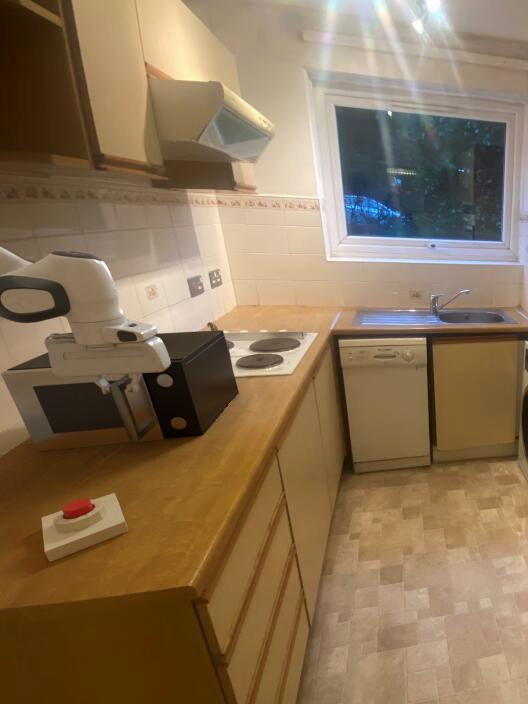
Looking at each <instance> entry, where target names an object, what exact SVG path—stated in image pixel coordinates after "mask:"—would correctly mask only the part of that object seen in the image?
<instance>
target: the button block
mask: <svg viewBox="0 0 528 704" xmlns="http://www.w3.org/2000/svg"><path fill="white" fill-rule="evenodd" d="M89 500H90V501H91V503H92V506H93V510H92V511H91V512H89V513H87V514H86V515H83V516H81V517H78V518H74V519H66V518H65V516H64V513H63V511H62V509H61V510H59V511H56V512H54V513H51V514H48V515H45V516H42V517H41V518H40V519H41V528H42V538H43V549H44V554H45V556H46V558H47V559H48V561H49V563H51V562H54V561H56V560H59V559H61V558H63V557H67V556H69V555H71V554H74V553H76V552H79V551H82V550H84V549H87V548H89V547H92V546H95V545H97V544H99V543H102V542H104V541H107V540H109V539H113V538H115V537H117V536H120V535H122V534H125V533H127V532H129V528H128V524H127V522H126V518H125V516H124V513H123V510H122V508H121V505H120V502H119V500H118V497H117V495H116V493H115V492H112V493H109V494H107V495H104V496H101V497H98V498H95V499H89Z"/></svg>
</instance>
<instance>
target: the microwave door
mask: <svg viewBox="0 0 528 704" xmlns="http://www.w3.org/2000/svg"><path fill="white" fill-rule="evenodd" d="M0 375H1V377H2V379H3V381H4V384H5V385H6V388H7V390H8V392H9V394H10V396H11V398H12V401H13V402H14V405H15V407H16V409H17V411H18V413H19V415H20V418H21V420H22V421H23V424H24V426H25V428H26V431H27V433H28V434H29V436H30V439H31V440H32V443H33V445H34V447H35V449H36V451H37V452H38V453H39V452H49V451H51V452H52V451H60V450H61V451H62V450H69V449H70V450H73V449H80V448H91V447H100V446H101V447H102V446H111V445H120V444H130V443H131V444H133V443H141V442H151V441H161V440H165V439H166V436H165V433H164V430H163V427H162V424H161V421H160V418H159V415H158V412H157V409H156V406H155V403H154V400H153V397H152V394H151V391H150V388H149V386H148V383H147V380H146V377H145V374H144V373H142V375H141V378H140V380H139V382H138V384H139V387H140V390H139V391H138V392H128V389H127V387H126V385H128V384H129V383H131V382H132V379H133V378H129V375H128V374H116V375H105V377H103V378H104V379H105V380H106V381H107V382H108V383H109V384H111V385H110V386H109V387H110V389H111V392H112V393H111V394H103V392H102V389H101V387H99V386H98V385H97V384H96V383H94V382H93V381H92V380H91V377H90V376H79V377H58V376H57V375H55V374H54V373H53V371H52V368H41V369H25V370H9V371H7V370H5V371H2V372H0Z"/></svg>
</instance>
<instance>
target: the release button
mask: <svg viewBox="0 0 528 704" xmlns="http://www.w3.org/2000/svg"><path fill="white" fill-rule="evenodd" d="M90 500H91V499H90V498H79V499H75V500H72V501H70V502H68V503H66V504H65V505H64V506H62V508H61V510H62V511H63V513H64V516H65V518H66V519H74V518H78V517H81V516H83V515H86V514H87V513H89V512H91V511H92V510H93V506H92V503H91V501H90Z"/></svg>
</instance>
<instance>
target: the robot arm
mask: <svg viewBox="0 0 528 704" xmlns="http://www.w3.org/2000/svg"><path fill="white" fill-rule="evenodd" d="M60 317H63V318H65V319H66V320H67V323H68V325H69V328H70V331H71V332H64V333H62V332H61V333H60V332H54V333H50V335H47V336H46V337H45V339H44V342H43V343H44V345H45V348H46V350H47V351H48V352H47V353H49V360H50V364H51V368H52V371H53V373H54V374H55V375H57V376H58V377H79V376H90V377H91V380H92V381H93V382H94V383H96V384H97V385H98V386H99V387H101V389H102V392H103V394H111V393H112V392H111V389H110V387H109V386H110V385H111V384H109V383H108V382H107V381H106V380H105V379H104V378H103V377H105V375H116V374H128V375H129V378H133V379H132V382H131V383H129V384H128V385H126V387H127V389H128V392H138V391H139V390H140V387H139V384H138V382H139V380H140V378H141V375H142V373H152V372H162V371H164V370H166V369H167V368H168V367H169V366H170V364H171V362H170V358H169V355H168V352H167V349H166V347H165V345H164V343H163V341H162V340H161V339H160V338H158V337H156V336H154V335H156V334H157V333H158V328H157V327H156V326H155V325H153V324H150V323H145V322H141V321H138V320H137V321H136V320H133V319H129V318H127V316H126V314H125V312H124V310H123V309H122V308H121V305H120V302H119V292H118V289H117V285H116V283H115V281H114V277H113V276H112V273H111V272H110V269H109V268H108V265H107V264H106V262H105V261H104V260H103V259H101V258H100V257H99V256H97V255H94V254H91V253H87V252H80V251H73V250H55V251H51V252H49V253H48V254H47V255H46V256H45V257H43V258H41V259H40V260H37V261H34V260H31V259H29V258H27V257H23V256H21V255H20V254H18V253H15V252H14V251H12V250H10V249H8V247H7V248H6V247H5V246H3V245H1V244H0V318H3V319H5V320H8V321H10V322H14V323H20V324H33V323H34V324H36V323H41V322H45V321H47V320H52V319H57V318H60Z"/></svg>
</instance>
